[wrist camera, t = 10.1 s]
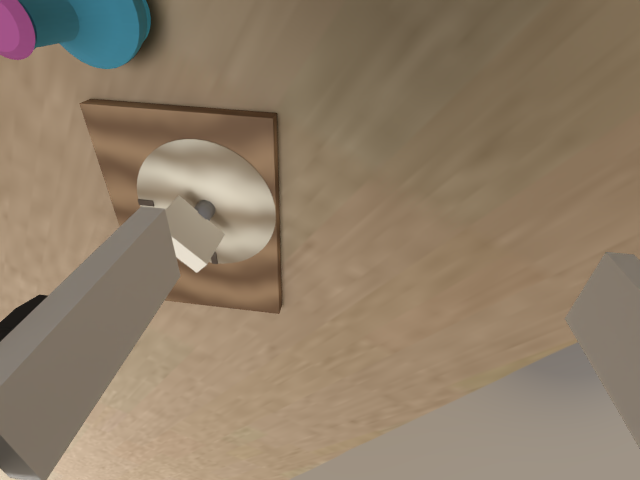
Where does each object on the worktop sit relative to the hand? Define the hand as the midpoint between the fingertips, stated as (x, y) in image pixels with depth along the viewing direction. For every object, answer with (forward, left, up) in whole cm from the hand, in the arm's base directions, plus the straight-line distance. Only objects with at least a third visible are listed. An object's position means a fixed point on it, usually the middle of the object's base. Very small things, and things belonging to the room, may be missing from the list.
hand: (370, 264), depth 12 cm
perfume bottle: (-4, -26, -32) cm, 41 cm away
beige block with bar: (+20, -22, -29) cm, 42 cm away
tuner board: (+20, -21, -32) cm, 43 cm away
